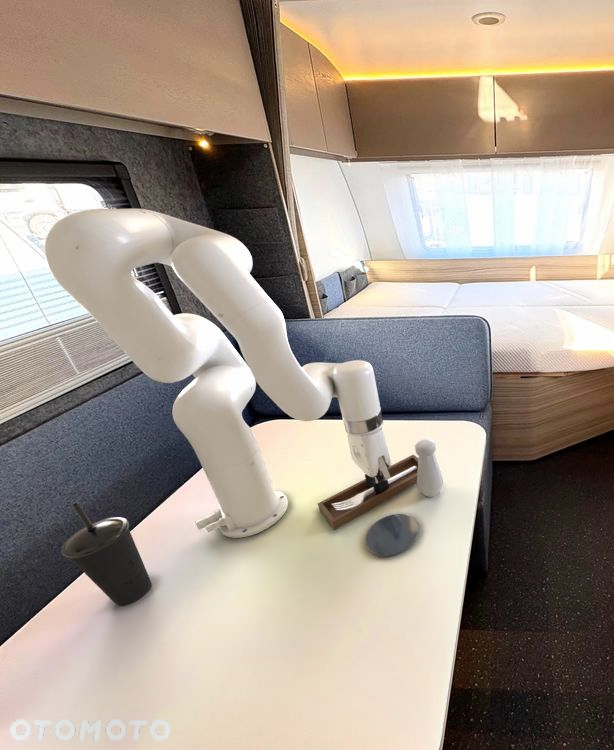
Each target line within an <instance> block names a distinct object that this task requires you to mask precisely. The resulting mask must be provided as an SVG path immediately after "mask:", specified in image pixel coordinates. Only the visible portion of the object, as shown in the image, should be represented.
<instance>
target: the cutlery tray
mask: <svg viewBox="0 0 614 750" xmlns="http://www.w3.org/2000/svg"><path fill="white" fill-rule="evenodd" d="M418 458H419V457H417V456H416V455H415V453H414V454H411V455H409V456H407V457H405V458H402V460H399V461H397V462H395V463H393V464H391V467H390V469H388V468H387V469H388V472H389V474H390V477H391V478H392V477H394V476H396V475H398V474H400V473H402V472H404V471H406V470H408V469H410V468H411V467H413V466H416V467H417V469H415V470H413V471H411V472H409V473H407V474H406V475H404V476H402V477H400V478H398V479H396V480H395V481H393V482H391V483H389V489H387V490H385V491H383V492H382V493H380V494H378V495H376V496H375V492H372V493H371V494H369V495H367V496H366V497H365V499H364V502H363V503H362V504H360V505H358V506H356V507H354V508H353V509H349V510H336V509H341V508H334V506H335V505H332V504H334V503H339V502H342V501H345V500H348V499H350V498H352V497H354V496H356V495H357V494H360V493H362V492H364V491H366V490H368V489H369V488H368V486H367V482H366V478H365V479H362V480H360V481H359V482H357V483H354V484H352V485H351V486H349V487H347V488H345V489H343V490H341V491H339V492H337V493H335V494H333V495H331V496H329V497H327V498H326V499H323V500H322V501H319V502H317V506H318V507H317V508H318V510H319V512H320V513H321V515H322V516H323V517H324V519H325V521H327V523H328V525H329V526H330V527H331V529H332V530H333V531H335V530H337V529H338V528H340V527H342V526H344V525H346V524H347V523H349V522H351V521H353V520H355V519H356V518H358V517H359V516H361V515H363V514H365V513H366V512H368V511H370V510H372V509H373V508H375V507H378V506H379V505H381V504H382V503H384V502H386V501H388V500H390V499H391V498H393V497H394V496H397V495H399V494H400V493H402V492H403V491H405V490H407V489H409V488H411V487H413V486H414V485H417V474H418ZM380 474H381V472H380ZM389 479H390V478H389ZM338 505H341V504H338ZM338 507H341V506H338ZM345 508H346V507H345Z"/></svg>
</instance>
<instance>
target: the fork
mask: <svg viewBox="0 0 614 750" xmlns="http://www.w3.org/2000/svg"><path fill="white" fill-rule="evenodd" d="M415 469H417V467H416V466H413V467H411V468H410V469H408V470H406V471H404V472H402V473H400V474H398V475H396V476H394V477H392V478H390V479H388V484H389V483H391V482H393V481H395V480H396V479H398V478H400V477H402V476H404V475H406V474H407V473H409V472H411V471H413V470H415ZM372 492H374V487H372V488H370V489H368V490H366V491H364V492H362V493H360V494H357V495H356V496H354V497H352V498H350V499H348V500H345V501H342V502H339V503H334V504H332V505H335V506H334V508H341V509H336V510H349V509H353V508H354V507H356V506H358V505H360V504H362V503H363V502H364V499H365V497H366V496H367V495H369V494H371V493H372ZM338 504H341V505H338ZM338 506H341V507H338ZM345 507H346V508H345Z"/></svg>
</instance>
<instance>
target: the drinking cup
mask: <svg viewBox="0 0 614 750" xmlns="http://www.w3.org/2000/svg"><path fill="white" fill-rule="evenodd" d="M71 507H72V509H74V511H75V513H76V514H77V516H78V517H79V519H80V521H81V522H82V523H83V525H84V526H85V527H83V528H81V529H79V530H78V531H77V532H75V533H74V534H73V535H71V536H70V537H69V538H68V539H67V540H66V541H65V542H64V543H63V544H62V545H61V549H60V552H61V554H62V556H63V557H65V558H67V559H70V560H71V562H73V563H74V564H75V565H76V566H77V567H78V568H79V569H80V570H81V571H82V572H83V573H84V574H85V575H86V576H87V577H88V578H89V579H90V580H91V581H92V582H93V583H94V584H95V585H96V586H97V587H98V588H99V589H100V590H101V591H102V592H103V593H104V594H105V595H106V596H107V597H108V598H109V599H110V601H112V602H113V603H114V604H115V605H116V606H118V607H125V606H128V605H131V604H134V603H136V602H138V601H139V600H141V599H142V598H143V597H144V596H145V595H147V593H149V591H150V589H152V585H153V584H152V580H151V578H150V576H149V574H148V573H149V572H148V571H147V568H146V566H145V564H144V561H143V559H142V557H141V554H140V552H139V549H138V547H137V544H136V543H135V540H134V537H133V535H132V533H131V530H130V529H129V526H130V524H129V523H130V522H129V521H128V519H127V518H125V517H122V516H112V517H107V518H104V519H100V520H98V521H96V522H93V523H92V522H91V521H90V518H89V516H88V515H87V514H86V513H85V511H84V510H83V508H82V507H81V505H80V503H79V502H75V503H73V504H72V505H71Z"/></svg>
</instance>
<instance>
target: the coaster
mask: <svg viewBox="0 0 614 750" xmlns="http://www.w3.org/2000/svg"><path fill="white" fill-rule="evenodd" d="M419 531H420V529H419V525H418V522H417V520H415V518H414V517H412V516H411V515H408V514H404V513H394V514H390V515H386V516H385V517H382V518H380V519H378V520H377V521H375V522H374V524H372V525H371V527H370V528H369V530H368V532H367V533H366V536H365V545H366V548H367V550H368V551H369V552H370V553H371V554H372V555H374V556H376V557H381V558H390V557H394V556H398V555H400V554H402V553H404V552H406V551H408V549H410V548H411V547H412V546H413V545H414V544H415V542H416V541H417V539H418V536H419V533H420V532H419Z"/></svg>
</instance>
